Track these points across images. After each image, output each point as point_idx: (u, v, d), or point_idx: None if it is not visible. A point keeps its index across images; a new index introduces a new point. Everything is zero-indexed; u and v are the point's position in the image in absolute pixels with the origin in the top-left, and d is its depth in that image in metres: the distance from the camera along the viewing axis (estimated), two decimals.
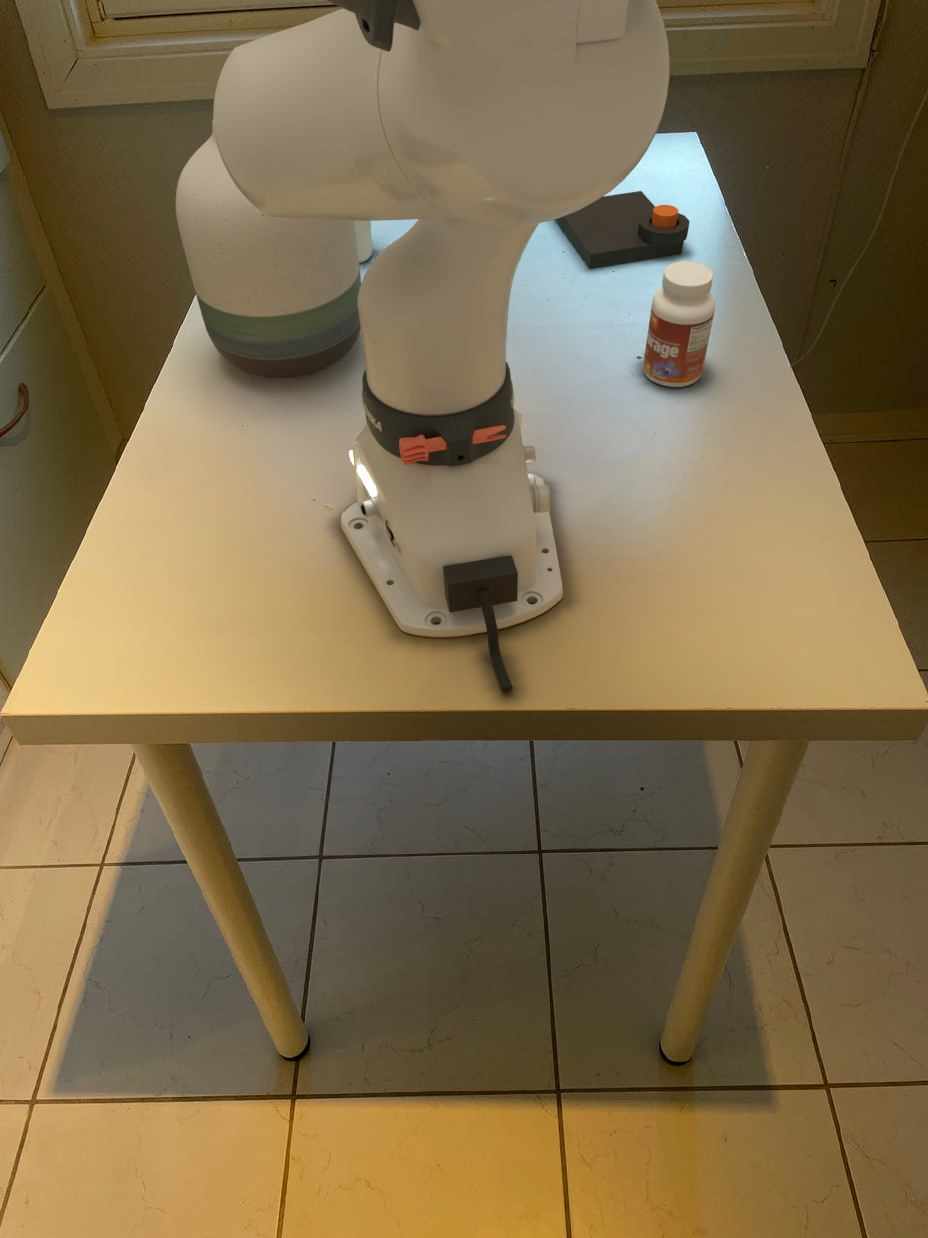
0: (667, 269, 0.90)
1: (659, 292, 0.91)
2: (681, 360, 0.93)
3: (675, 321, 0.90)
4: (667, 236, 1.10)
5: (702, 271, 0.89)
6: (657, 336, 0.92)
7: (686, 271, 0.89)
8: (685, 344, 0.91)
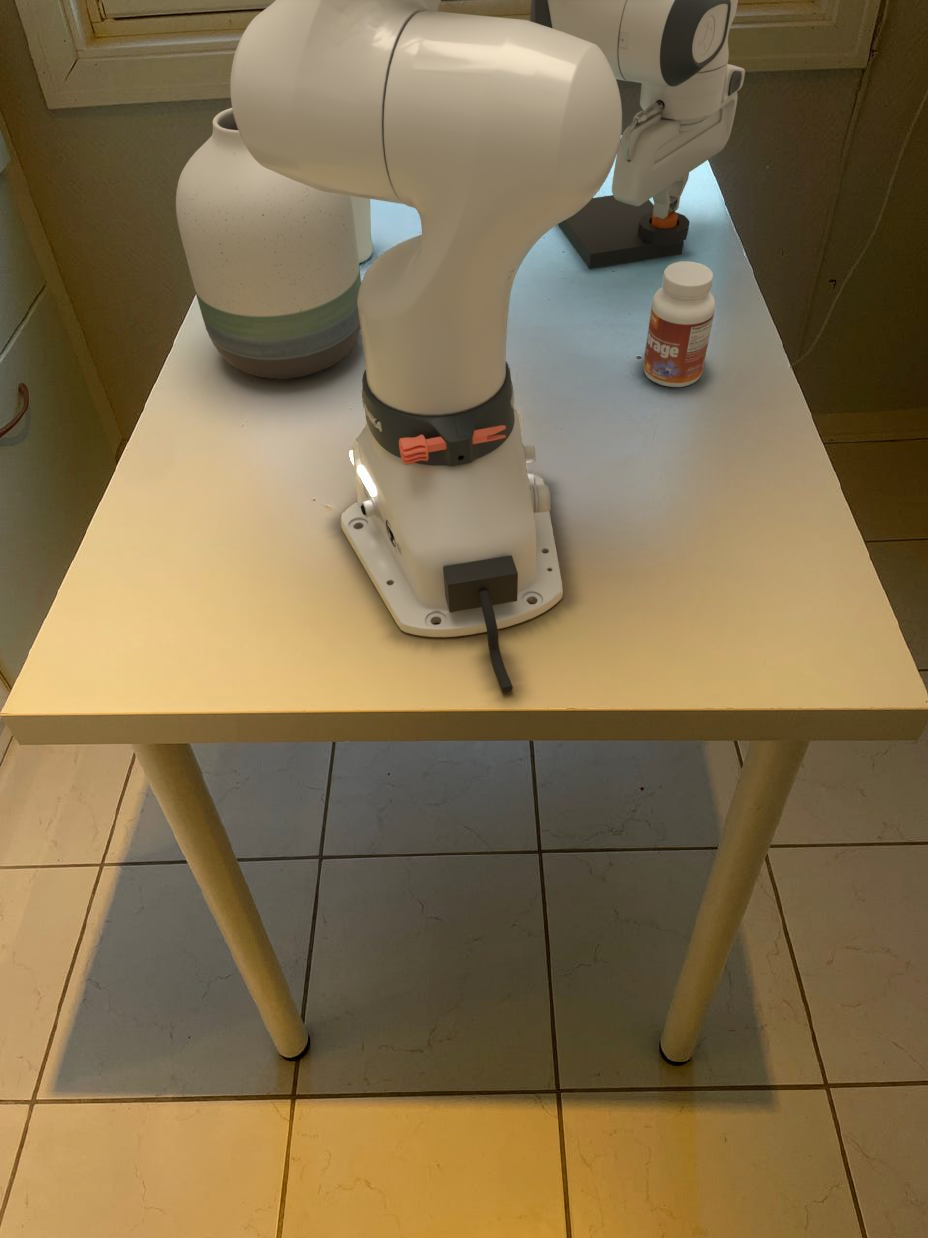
0: (667, 269, 0.90)
1: (659, 292, 0.91)
2: (681, 360, 0.93)
3: (675, 321, 0.90)
4: (667, 236, 1.10)
5: (702, 271, 0.89)
6: (657, 336, 0.92)
7: (686, 271, 0.89)
8: (685, 344, 0.91)
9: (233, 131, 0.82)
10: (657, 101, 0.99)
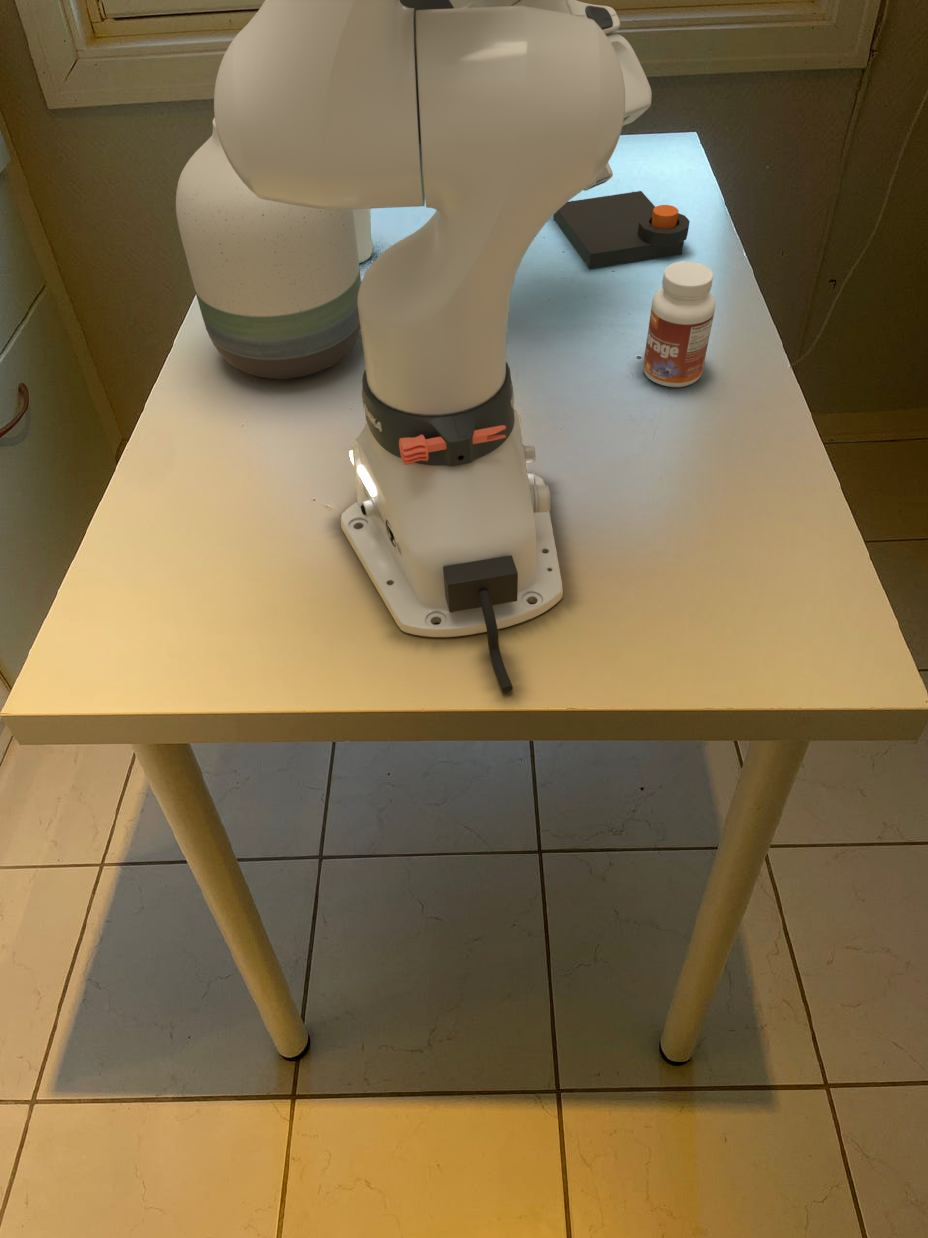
0: (667, 269, 0.90)
1: (659, 292, 0.91)
2: (681, 360, 0.93)
3: (675, 321, 0.90)
4: (667, 236, 1.10)
5: (702, 271, 0.89)
6: (657, 336, 0.92)
7: (686, 271, 0.89)
8: (685, 344, 0.91)
9: None
10: None
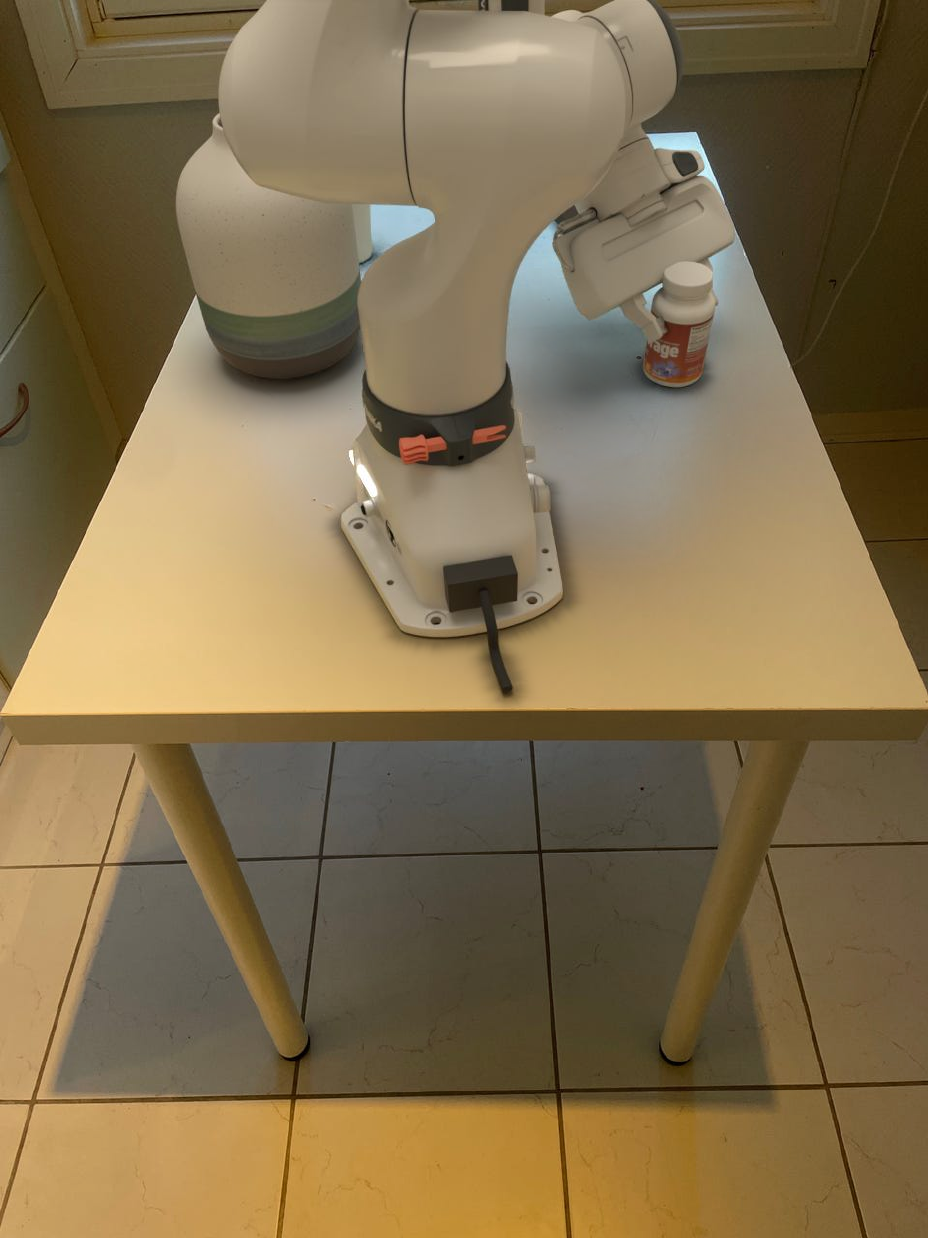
0: (667, 269, 0.89)
1: (659, 292, 0.91)
2: (681, 360, 0.93)
3: (675, 321, 0.90)
4: None
5: (702, 271, 0.89)
6: None
7: (686, 271, 0.89)
8: (685, 344, 0.91)
9: None
10: (586, 210, 0.88)
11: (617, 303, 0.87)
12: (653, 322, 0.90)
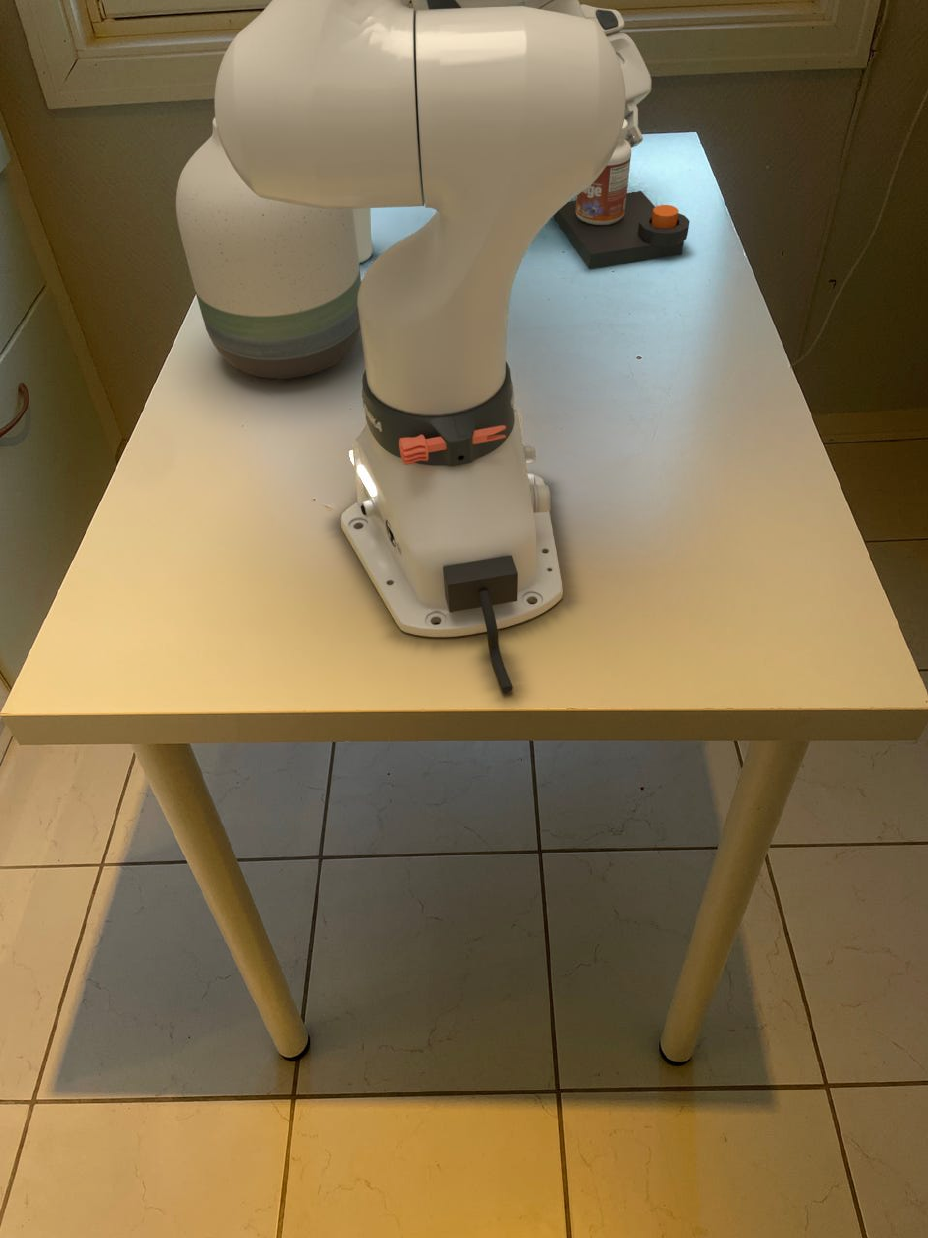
0: None
1: None
2: (604, 199, 1.12)
3: None
4: (667, 236, 1.10)
5: None
6: None
7: None
8: (606, 184, 1.11)
9: None
10: None
11: None
12: None
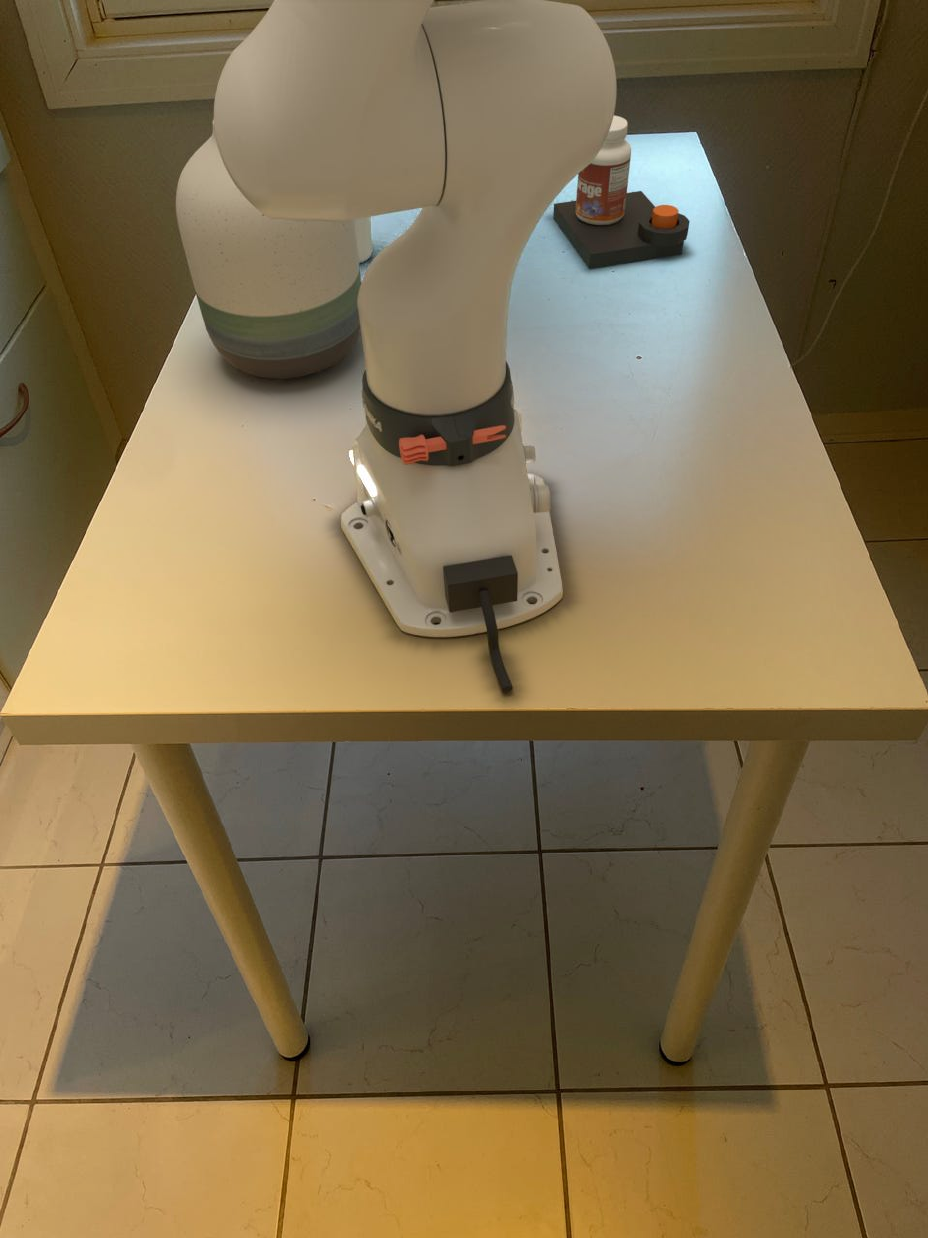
0: None
1: None
2: (604, 199, 1.12)
3: (597, 163, 1.09)
4: (667, 236, 1.10)
5: (619, 121, 1.09)
6: (584, 178, 1.12)
7: None
8: (606, 184, 1.11)
9: None
10: None
11: None
12: None
